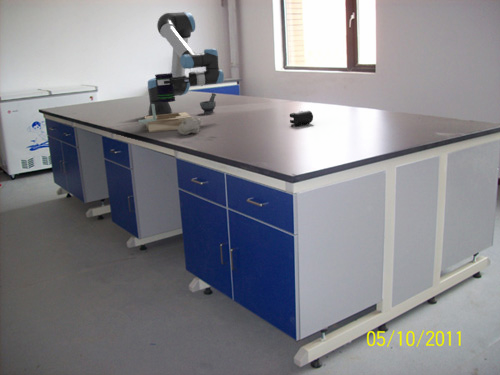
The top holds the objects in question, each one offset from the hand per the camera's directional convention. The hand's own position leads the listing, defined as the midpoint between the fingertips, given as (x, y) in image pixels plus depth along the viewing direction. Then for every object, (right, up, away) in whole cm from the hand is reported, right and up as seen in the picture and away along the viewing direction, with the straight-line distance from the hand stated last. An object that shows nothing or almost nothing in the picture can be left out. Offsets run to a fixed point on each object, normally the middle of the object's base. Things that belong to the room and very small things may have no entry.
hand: (156, 82), depth 284 cm
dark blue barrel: (+5, -10, +4) cm, 12 cm away
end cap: (+78, -27, -25) cm, 86 cm away
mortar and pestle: (+26, -11, +40) cm, 49 cm away
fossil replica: (+22, -32, -27) cm, 47 cm away
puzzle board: (+7, -24, +1) cm, 25 cm away
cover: (-3, -24, -11) cm, 26 cm away
